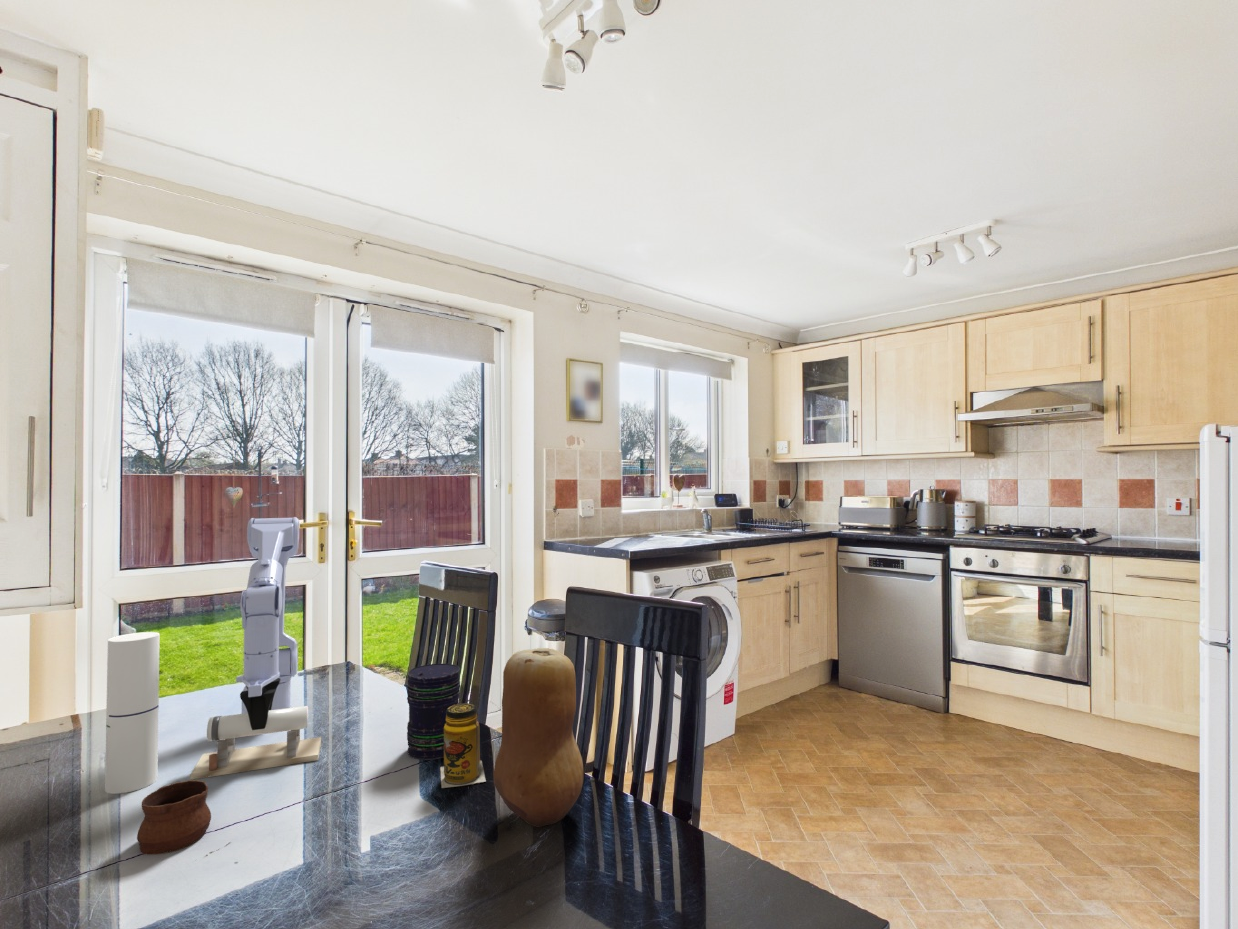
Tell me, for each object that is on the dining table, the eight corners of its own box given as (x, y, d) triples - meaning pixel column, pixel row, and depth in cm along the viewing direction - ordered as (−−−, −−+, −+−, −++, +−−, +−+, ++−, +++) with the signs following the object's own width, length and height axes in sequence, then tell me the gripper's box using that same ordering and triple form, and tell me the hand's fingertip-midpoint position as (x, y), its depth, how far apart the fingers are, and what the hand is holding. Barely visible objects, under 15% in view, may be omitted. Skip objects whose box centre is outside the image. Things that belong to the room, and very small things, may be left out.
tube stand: (190, 780, 109) (190, 747, 110) (203, 759, 118) (203, 729, 118) (318, 760, 117) (318, 730, 117) (321, 742, 125) (321, 714, 125)
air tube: (308, 723, 122) (308, 702, 122) (306, 732, 119) (306, 710, 119) (211, 736, 116) (212, 713, 117) (206, 745, 113) (206, 722, 113)
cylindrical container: (128, 795, 104) (131, 642, 105) (93, 791, 106) (96, 640, 106) (167, 775, 111) (170, 632, 112) (134, 772, 113) (136, 631, 113)
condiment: (441, 789, 105) (441, 716, 106) (440, 768, 113) (440, 700, 114) (486, 783, 107) (485, 711, 108) (481, 762, 115) (481, 696, 116)
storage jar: (440, 734, 128) (440, 660, 129) (470, 747, 122) (470, 669, 123) (396, 751, 121) (396, 672, 121) (426, 765, 114) (426, 681, 115)
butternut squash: (601, 809, 98) (599, 647, 99) (548, 853, 86) (547, 668, 87) (530, 788, 105) (529, 637, 106) (473, 826, 93) (473, 655, 94)
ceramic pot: (269, 829, 93) (268, 781, 94) (124, 896, 79) (124, 838, 79) (213, 799, 104) (212, 755, 104) (75, 853, 89) (75, 802, 89)
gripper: (243, 644, 123) (243, 714, 123) (228, 663, 110) (227, 742, 109) (284, 640, 126) (283, 709, 125) (274, 658, 113) (273, 736, 112)
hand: (260, 724), depth 118 cm, fingers closed on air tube, 4 cm apart
